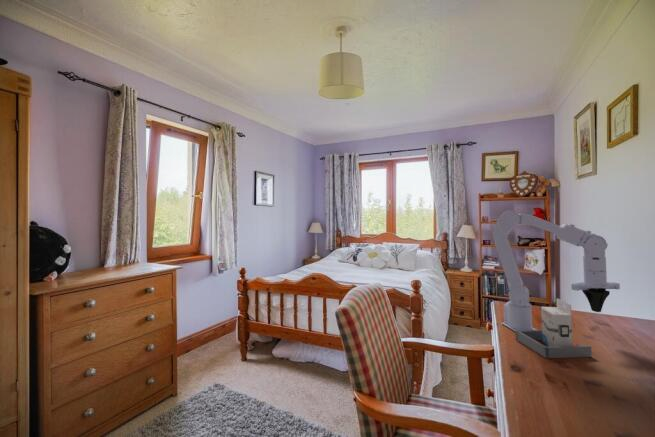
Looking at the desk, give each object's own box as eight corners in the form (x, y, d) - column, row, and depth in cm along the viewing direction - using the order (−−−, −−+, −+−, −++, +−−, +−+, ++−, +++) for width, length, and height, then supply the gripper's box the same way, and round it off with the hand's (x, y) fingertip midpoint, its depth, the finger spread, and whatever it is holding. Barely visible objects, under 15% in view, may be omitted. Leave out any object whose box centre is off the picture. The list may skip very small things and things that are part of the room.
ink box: (541, 341, 101) (539, 297, 101) (558, 342, 100) (556, 297, 100) (555, 352, 92) (553, 304, 92) (573, 353, 91) (571, 304, 91)
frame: (515, 339, 103) (515, 330, 103) (555, 338, 103) (555, 329, 103) (545, 358, 89) (545, 347, 89) (591, 356, 89) (591, 346, 89)
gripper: (583, 273, 97) (584, 315, 97) (628, 271, 97) (629, 314, 97) (565, 269, 104) (567, 309, 104) (607, 268, 104) (609, 307, 104)
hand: (596, 311), depth 101 cm, fingers closed
